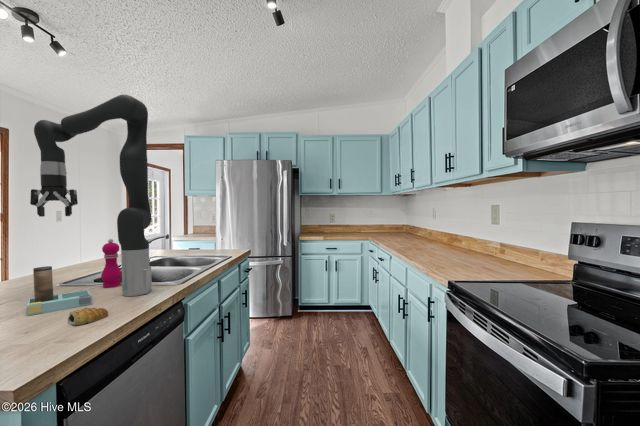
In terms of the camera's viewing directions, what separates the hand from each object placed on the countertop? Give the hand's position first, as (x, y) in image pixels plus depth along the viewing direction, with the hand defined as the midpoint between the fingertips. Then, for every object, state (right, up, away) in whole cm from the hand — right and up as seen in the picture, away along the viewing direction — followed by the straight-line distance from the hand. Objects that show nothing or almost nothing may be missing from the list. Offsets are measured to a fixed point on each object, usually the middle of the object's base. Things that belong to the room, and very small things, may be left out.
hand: (55, 216), depth 117 cm
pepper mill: (+14, -30, +11) cm, 35 cm away
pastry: (+33, -31, -27) cm, 53 cm away
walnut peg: (+11, -30, -16) cm, 36 cm away
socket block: (+14, -30, -14) cm, 36 cm away
